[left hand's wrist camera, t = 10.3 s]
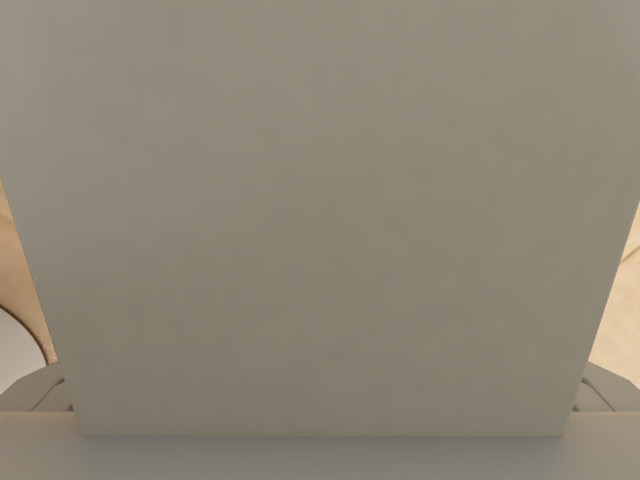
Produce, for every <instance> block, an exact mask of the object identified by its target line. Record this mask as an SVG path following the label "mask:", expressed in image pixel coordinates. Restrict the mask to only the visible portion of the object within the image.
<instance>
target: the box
mask: <svg viewBox="0 0 640 480" xmlns="http://www.w3.org/2000/svg"><path fill="white" fill-rule="evenodd" d="M0 178H1V181H2V184H3V187H4V191H5V194H6V197H7V200H8V203H9V206H10V210H11V213H12V216H13V219H14V222H15V225H16V229H17V232H18V235H19V238H20V241H21V244H22V247H23V251H24V254H25V257H26V260H27V263H28V266H29V270H30V273H31V276H32V279H33V282H34V285H35V289H36V292H37V295H38V298H39V301H40V304H41V307H42V311H43V314H44V317H45V320H46V323H47V326H48V330H49V333H50V336H51V339H52V342H53V345H54V349H55V352H56V355H57V358H58V361H59V364H60V367H61V371H62V374H63V377H64V380H65V383H66V386H67V390H68V393H69V396H70V399H71V402H72V405H73V408H74V412H75V415H76V418H77V421H78V424H79V427H80V431H81V434H82V435H84V436H523V437H562V436H564V433H565V430H566V426H567V423H568V420H569V417H570V414H571V411H572V408H573V405H574V402H575V399H576V396H577V393H578V390H579V386H580V383H581V380H582V377H583V374H584V371H585V368H586V365H587V362H588V359H589V356H590V353H591V349H592V346H593V343H594V340H595V337H596V334H597V331H598V328H599V325H600V322H601V319H602V316H603V312H604V309H605V306H606V303H607V300H608V297H609V294H610V291H611V288H612V285H613V282H614V279H615V275H616V272H617V269H618V266H619V263H620V260H621V257H622V254H623V251H624V248H625V245H626V242H627V238H628V235H629V232H630V229H631V226H632V223H633V220H634V217H635V214H636V211H637V208H638V205H639V201H640V0H0Z"/></svg>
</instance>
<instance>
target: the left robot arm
mask: <svg viewBox="0 0 640 480" xmlns="http://www.w3.org/2000/svg"><path fill="white" fill-rule="evenodd" d="M0 480H640V390H639V389H638V388H637V387H636V386H635V385H633V384H632V383H631V382H630V381H629V380H627V379H625V378H623V377H621V376H619V375H617V374H614V373H612V372H610V371H608V370H606V369H604V368H602V367H599V366H597V365H595V364H593V363H591V362H589V361H588V362H587V365H586V368H585V371H584V374H583V377H582V380H581V383H580V386H579V390H578V393H577V396H576V399H575V402H574V405H573V408H572V411H571V414H570V417H569V420H568V423H567V426H566V430H565V433H564V436H562V437H523V436H84V435H82V434H81V431H80V427H79V424H78V421H77V418H76V415H75V412H74V408H73V405H72V402H71V399H70V396H69V393H68V390H67V386H66V383H65V380H64V377H63V374H62V371H61V367H60V364H59V361H56V362H54V363H51V364H49V365H46V362H45V359H44V356H43V354H42V351H41V350H40V348H39V346H38V344H37V343H36V341H35V340H34V338H33V337H32V336H31V334H30V333H29V332H28V331H27V330H26V329H25V328H24V327H23V326H22V325H21V324H20V323H19V322H18V321H17V320H16V319H15V318H13V317H12V316H11V315H9V314H8V313H7V312H5V311H4V310H3V309H1V308H0Z"/></svg>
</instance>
